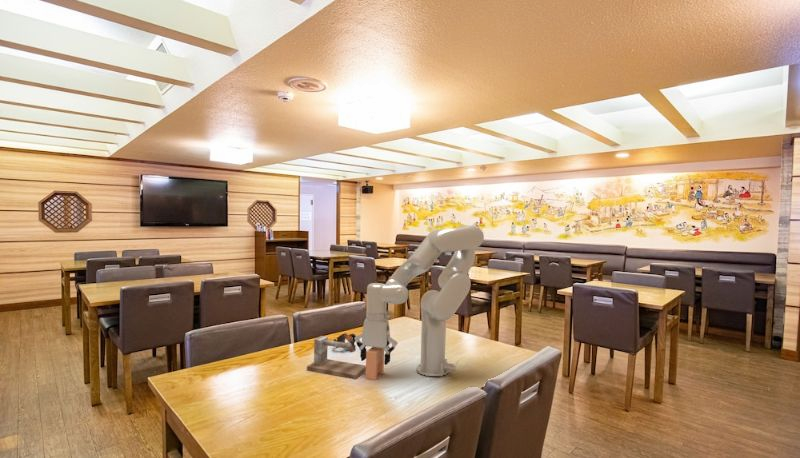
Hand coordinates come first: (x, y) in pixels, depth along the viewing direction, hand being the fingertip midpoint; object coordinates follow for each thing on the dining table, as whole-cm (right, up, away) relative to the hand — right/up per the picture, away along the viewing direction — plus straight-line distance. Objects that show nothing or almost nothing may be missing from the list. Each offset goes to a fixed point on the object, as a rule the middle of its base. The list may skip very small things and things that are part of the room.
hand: (375, 361), depth 145 cm
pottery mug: (-15, -5, +29) cm, 33 cm away
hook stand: (-15, -5, +4) cm, 16 cm away
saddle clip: (0, -5, 0) cm, 5 cm away
